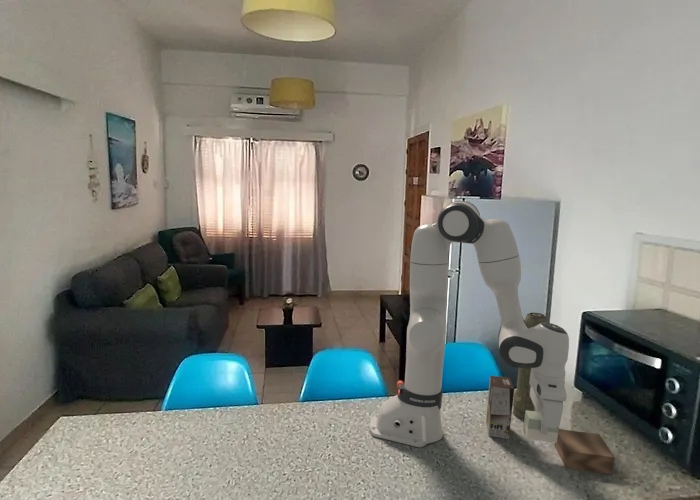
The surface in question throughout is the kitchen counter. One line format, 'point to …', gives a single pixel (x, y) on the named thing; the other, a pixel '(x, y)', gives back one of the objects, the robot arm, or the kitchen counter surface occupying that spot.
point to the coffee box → (499, 406)
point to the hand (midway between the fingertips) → (540, 427)
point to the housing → (537, 428)
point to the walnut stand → (584, 451)
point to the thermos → (525, 376)
